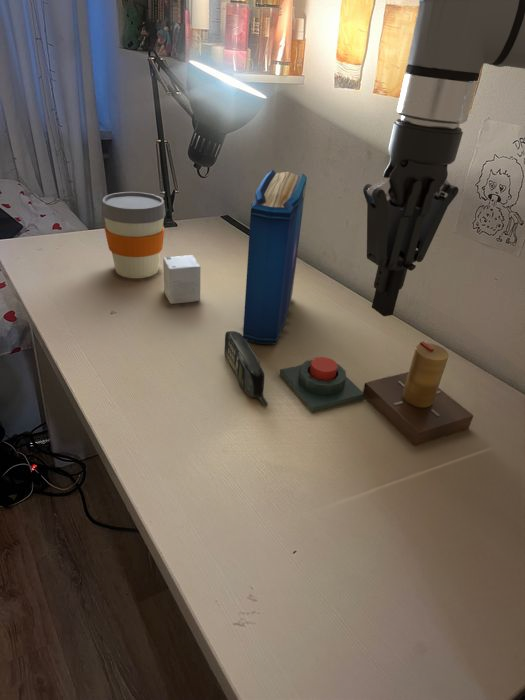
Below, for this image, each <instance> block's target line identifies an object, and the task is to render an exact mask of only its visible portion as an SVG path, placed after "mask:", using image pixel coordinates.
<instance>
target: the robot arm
mask: <svg viewBox="0 0 525 700" xmlns="http://www.w3.org/2000/svg"><path fill="white" fill-rule="evenodd" d="M418 3H419V4H418V9H417V13H416V18H415V23H414V28H413V33H412V39H411V42H410V43H411V44H410V48H409V51H408V58H407V63H406V67H405V72H404V75H403V80H402V85H401V90H400V94H399V95H400V96H399V99H398V102H397V107H396V112H397V114H398V115H399V116H400V118H398V119H396V120H395V121H394V122H393V126H392V130H391V135H390V140H389V143H388V149H387V151H388V154H389V161H388V162H389V163H388V165H387V166H386V168H385V169H384V172H383V175H382V176H383V177H382V178H381V179H380V180H378V182H376V183H375V184H370V183H366V184H365V185H364V187H363V189H362V193H363V195H364V198H365V202H366V205H367V206H366V207H367V208H366V259H367V260H369V261H370V262H372V263H373V264H375V265H376V266H377V268H376V273H375V278H374V281H373V282H374V283H373V288H374V289H375V290H374V296H373V300H372V304H371V309H373V310H374V311H376V312H377V313H378V314H380V315H381V316H383V317H389V316H393V315H394V311H395V308H396V305H397V300H398V297H399V293H400V290H402V288H403V287H404V284H405V280H406V276H407V273H408V271H414V270H415V269H416V267H417V265H416V264H414V263H416V262H417V263H421V262H422V261H423V260H424V259H425V257H426V255H427V252H428V250H429V248H430V247H431V244H432V241H433V239H434V237H435V235H436V233H437V231H438V228H439V226H440V224H441V222H442V220H443V218H444V216H445V213H446V212H447V209H448V207H449V206H450V204H452V202H453V201H454V199H455V198H456V196H457V195H458V193H459V187H458V186H455V185H453V184H451V183H450V182H449V181H448V180H447V179H448V175H449V172H448V166H449V165H451V164H453V163H454V162H455V161H456V158H457V154H458V151H459V148H460V145H461V142H462V137H463V135H464V132H463V129H462V128H461V127H460V125H461V124H465V123H466V122H468V117H469V115H470V111H471V107H472V103H473V100H474V96H475V93H476V90H477V85H478V81H479V79H480V75H481V71H482V68H483V66H484V64H485V65H486V64H487V65H489V66H494V67H497V68H504V67H510V68H516V69H523V70H525V0H419V1H418Z"/></svg>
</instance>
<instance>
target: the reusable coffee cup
mask: <svg viewBox="0 0 525 700" xmlns="http://www.w3.org/2000/svg"><path fill="white" fill-rule="evenodd" d="M101 202H102V203H101V205H102V206H101V215H102V217H103V218H104V222H105V225H104V233H105V237H106V241H107V247H108V250H109V251H110V252H111V255H112V260H113V263H114V269H115V273H117V274H118V276H120V277H124V278H128V279H145V278H150V277H152V276H154V275H156V274H157V273H158V271H159V267H160V257H161V252H162V250H163V247H164V238H165V229H166V228H165V226H164V221H165V217H166V215H167V213H166V206H165V199H164V198H163V197H161V196H159V195H157V194H153V193H148V192H143V191H142V192H141V191H123V192H120V191H119V192H114V193H109V194H107V195H104V197H102V199H101Z"/></svg>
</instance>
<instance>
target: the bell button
mask: <svg viewBox="0 0 525 700" xmlns="http://www.w3.org/2000/svg"><path fill="white" fill-rule="evenodd" d="M311 360H312V361H311V365H310V375H311V376H312V377H314V378H316V379H318V380H325V381H329V380H333V379H334V378H335V377H336V373H337V368H338V366H337V364H338V363H337V362H336V361H335V360H334V359H332V358H330V357H326V356H318V357H314V358H313V359H311Z"/></svg>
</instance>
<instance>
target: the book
mask: <svg viewBox="0 0 525 700" xmlns="http://www.w3.org/2000/svg"><path fill="white" fill-rule="evenodd" d="M307 178H308V177H307V175H305V174H304V173H302V174H300V175H297V174H294V173H292V172H290V171H283V172H276V171H275V170H274V169H272V170H270V171H268V172H267V173H266V174H265V176H264V177H263V179H261V182H260V183H259V185H258V187H257V189H256V191H255V193H254V194H255V195H254V201H253V202H251V203H250V219H249V233H248V250H247V264H246V265H247V266H246V281H245V297H244V314H243V328H242V336H243V337H244V338H245V340H246V341H248V342H252V343H255V344H258V345H274V344H277V343H278V340H279V339H280V338H281V333H282V332H281V331H282V330H283V328H284V327H285V325H286V321H287V317H288V313H289V311H290V306H291V301H292V297H293V291H294V284H295V275H296V267H297V259H298V251H299V244H300V234H301V227H302V218H303V210H304V203H305V195H306V189H307V188H306V187H307Z"/></svg>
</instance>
